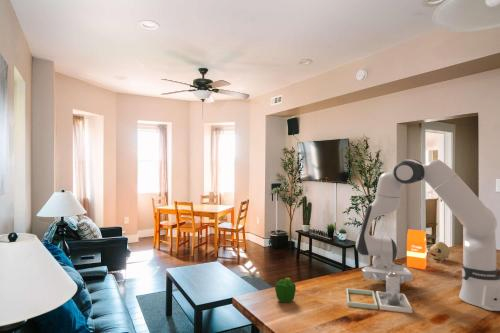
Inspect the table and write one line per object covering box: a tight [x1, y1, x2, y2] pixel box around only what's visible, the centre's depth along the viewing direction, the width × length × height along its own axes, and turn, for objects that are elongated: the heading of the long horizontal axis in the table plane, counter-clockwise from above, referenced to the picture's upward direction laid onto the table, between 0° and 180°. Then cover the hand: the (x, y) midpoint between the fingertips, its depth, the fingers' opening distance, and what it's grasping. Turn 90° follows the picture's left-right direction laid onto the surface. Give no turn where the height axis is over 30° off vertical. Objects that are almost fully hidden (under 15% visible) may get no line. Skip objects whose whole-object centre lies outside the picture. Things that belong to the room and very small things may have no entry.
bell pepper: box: [274, 277, 297, 303], centre depth 130 cm, size 8×8×10 cm
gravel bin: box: [375, 290, 413, 314], centre depth 124 cm, size 11×14×3 cm
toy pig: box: [426, 241, 451, 262], centre depth 183 cm, size 10×12×11 cm
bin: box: [346, 287, 379, 310], centre depth 127 cm, size 11×14×3 cm
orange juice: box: [406, 228, 428, 270], centre depth 173 cm, size 8×9×20 cm
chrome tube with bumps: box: [385, 272, 401, 306], centre depth 124 cm, size 5×5×12 cm
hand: (389, 280), depth 132 cm, fingers open, 8 cm apart
